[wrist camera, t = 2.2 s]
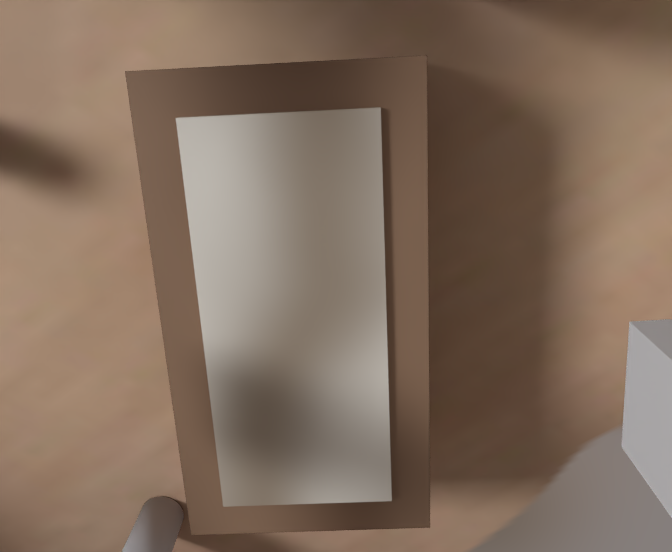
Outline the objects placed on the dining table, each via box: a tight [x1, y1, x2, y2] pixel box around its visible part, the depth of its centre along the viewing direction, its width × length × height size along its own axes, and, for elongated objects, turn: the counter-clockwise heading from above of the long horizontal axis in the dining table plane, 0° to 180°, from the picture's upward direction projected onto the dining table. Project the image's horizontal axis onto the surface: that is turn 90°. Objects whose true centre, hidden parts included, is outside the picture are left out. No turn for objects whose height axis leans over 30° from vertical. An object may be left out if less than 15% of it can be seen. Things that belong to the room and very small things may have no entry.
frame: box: [125, 55, 430, 535], centre depth 19 cm, size 7×13×5 cm, turn 3°
